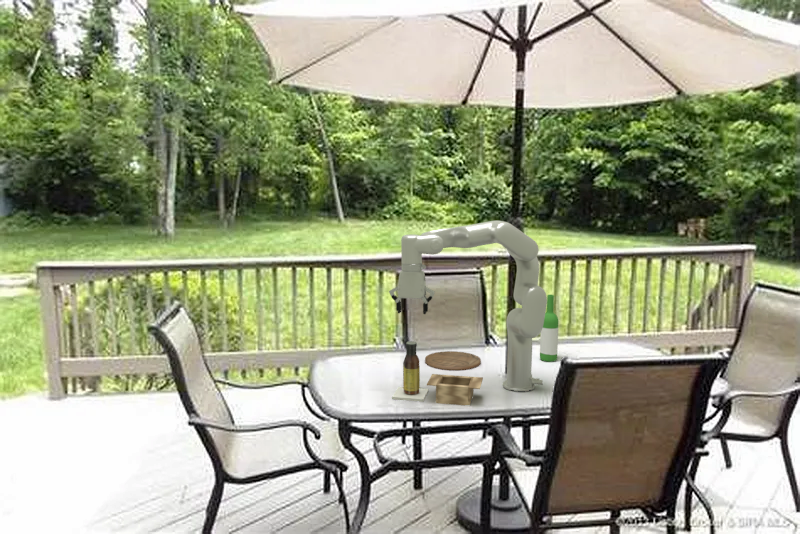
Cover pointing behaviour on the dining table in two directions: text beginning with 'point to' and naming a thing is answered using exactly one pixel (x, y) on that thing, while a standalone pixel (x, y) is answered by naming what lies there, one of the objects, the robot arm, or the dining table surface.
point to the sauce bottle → (411, 370)
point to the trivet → (452, 360)
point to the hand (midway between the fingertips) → (412, 313)
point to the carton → (454, 388)
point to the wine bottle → (549, 333)
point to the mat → (416, 397)
